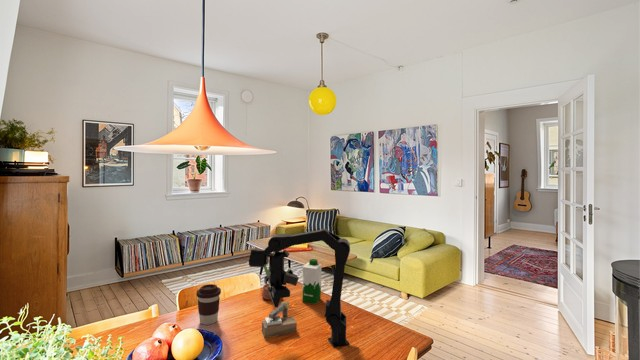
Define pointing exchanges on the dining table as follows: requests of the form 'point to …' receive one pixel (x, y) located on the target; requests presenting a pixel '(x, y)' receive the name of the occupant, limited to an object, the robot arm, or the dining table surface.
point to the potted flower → (265, 291)
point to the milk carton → (311, 282)
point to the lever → (279, 309)
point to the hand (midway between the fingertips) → (276, 307)
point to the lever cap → (273, 321)
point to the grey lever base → (280, 326)
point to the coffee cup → (208, 303)
